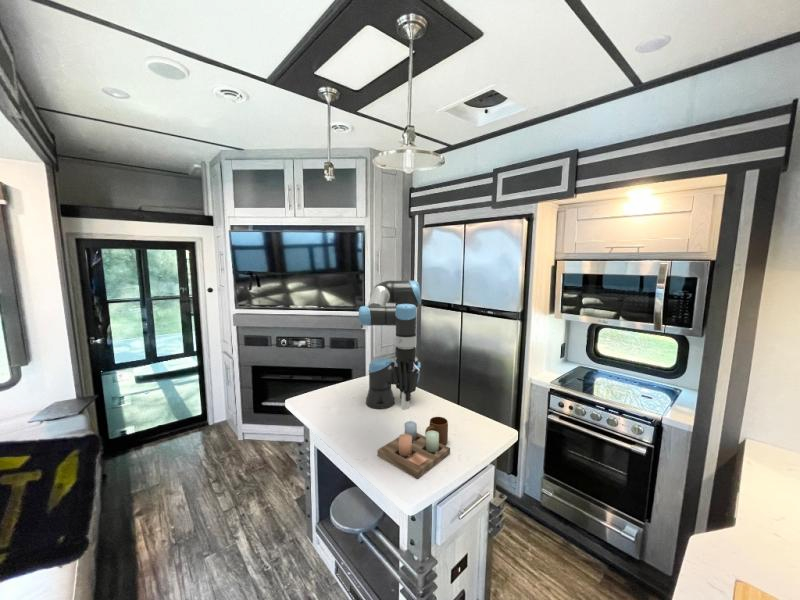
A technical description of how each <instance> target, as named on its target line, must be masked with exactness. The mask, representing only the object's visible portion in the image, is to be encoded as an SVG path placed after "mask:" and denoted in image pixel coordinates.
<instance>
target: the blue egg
mask: <svg viewBox="0 0 800 600" xmlns="http://www.w3.org/2000/svg"><path fill="white" fill-rule="evenodd" d="M417 424H418V423H417V422H415V421H412V420H409V421H406V422H404V431H403V432H404V433H403V434H409V435H411V436H412V442H415V440H416V439H417V433H418V430H417V429H418V427H417V426H418V425H417Z"/></svg>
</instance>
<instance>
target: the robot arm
mask: <svg viewBox="0 0 800 600" xmlns="http://www.w3.org/2000/svg"><path fill="white" fill-rule="evenodd" d="M369 298H370V299H369V301H368V304H367V305H363V306H360V307H359V309H358V323H359V325H360V326H367V327H369V326H395V346H396V347H395V348H394V349H395V351H394V352H395V353H394V354H395V361H393V360H392V359H391V358H389V357H380V358H376V359H373V360H372V361H370V363H369V366H368V392H367V395H366V397H365V405H366V406H367V407H369V408H371V409H374V410H382V409H383V410H384V409H388V408H391V407H392V406H394V405H395V396H394V394H393V389H392V385H395V388H396V389H398V390H399V392H400V398H399V399H400V400H401V410H403V411H406V410H408V409H410V401H411V399H412V398H411V397H412V396H411V393H414V392H415V391H416V389H417V384H418V383H419V380H420V374H421V371H422V368H421V362H420V361H419V359H418V357H417V348H416V346H417V314H418V313H417V309H419V305H420V304H422V296H421V289H420V283H419V281H416V280H408V279H407V280H385V281H382V282H379V283H377V284H376V285H375V286H374V287H373V288H371V291H370V293H369ZM387 304H395V306H391V305H389V306H387Z"/></svg>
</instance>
